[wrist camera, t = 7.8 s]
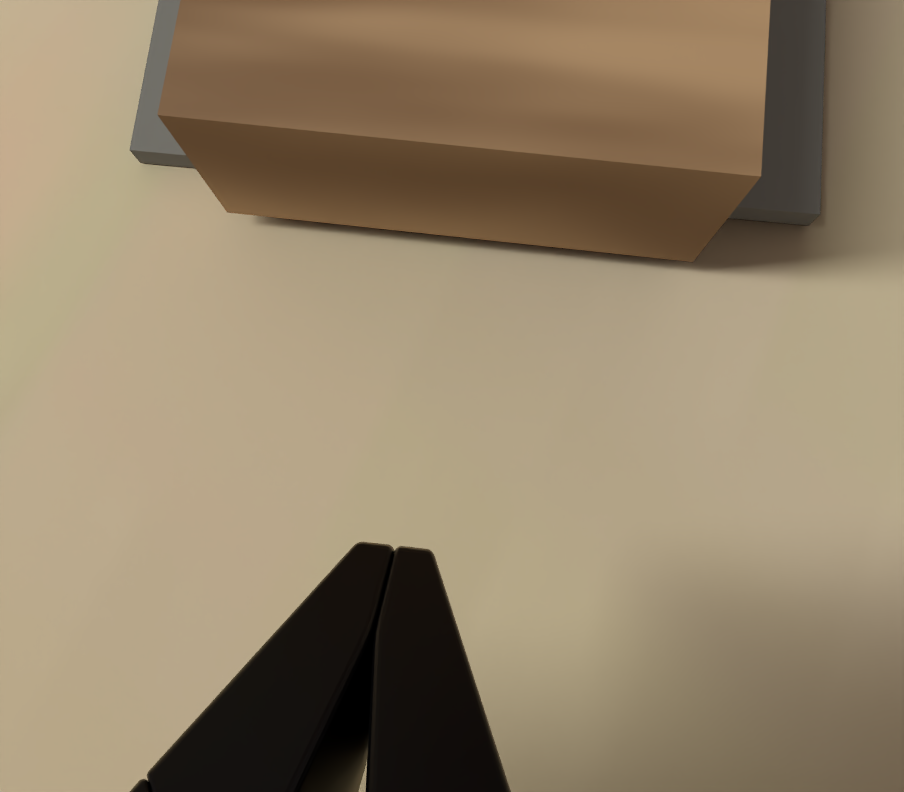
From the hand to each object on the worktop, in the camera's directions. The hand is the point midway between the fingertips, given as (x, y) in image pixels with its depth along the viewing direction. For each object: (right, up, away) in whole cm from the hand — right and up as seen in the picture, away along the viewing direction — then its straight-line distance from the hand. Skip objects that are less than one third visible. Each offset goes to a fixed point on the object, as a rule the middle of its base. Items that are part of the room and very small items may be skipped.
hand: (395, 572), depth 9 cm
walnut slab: (+1, +6, +6) cm, 9 cm away
